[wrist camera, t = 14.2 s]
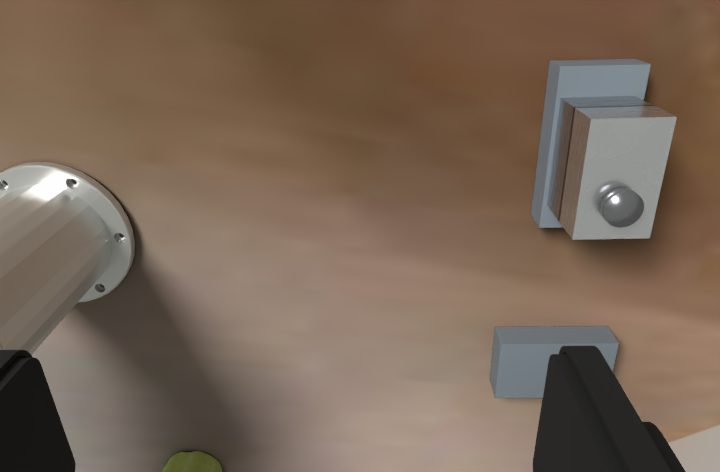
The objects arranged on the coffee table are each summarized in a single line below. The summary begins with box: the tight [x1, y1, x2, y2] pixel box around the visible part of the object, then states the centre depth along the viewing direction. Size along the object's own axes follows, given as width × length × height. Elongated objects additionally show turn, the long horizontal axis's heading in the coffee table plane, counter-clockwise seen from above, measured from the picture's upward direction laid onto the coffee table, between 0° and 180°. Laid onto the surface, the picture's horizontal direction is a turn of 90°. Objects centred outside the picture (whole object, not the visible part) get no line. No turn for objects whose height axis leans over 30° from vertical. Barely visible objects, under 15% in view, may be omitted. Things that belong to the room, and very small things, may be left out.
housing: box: [547, 96, 677, 240], centre depth 36 cm, size 8×5×7 cm, turn 2°
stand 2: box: [490, 326, 619, 398], centre depth 49 cm, size 10×6×2 cm, turn 91°
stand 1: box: [531, 59, 651, 228], centre depth 41 cm, size 6×12×2 cm, turn 1°
